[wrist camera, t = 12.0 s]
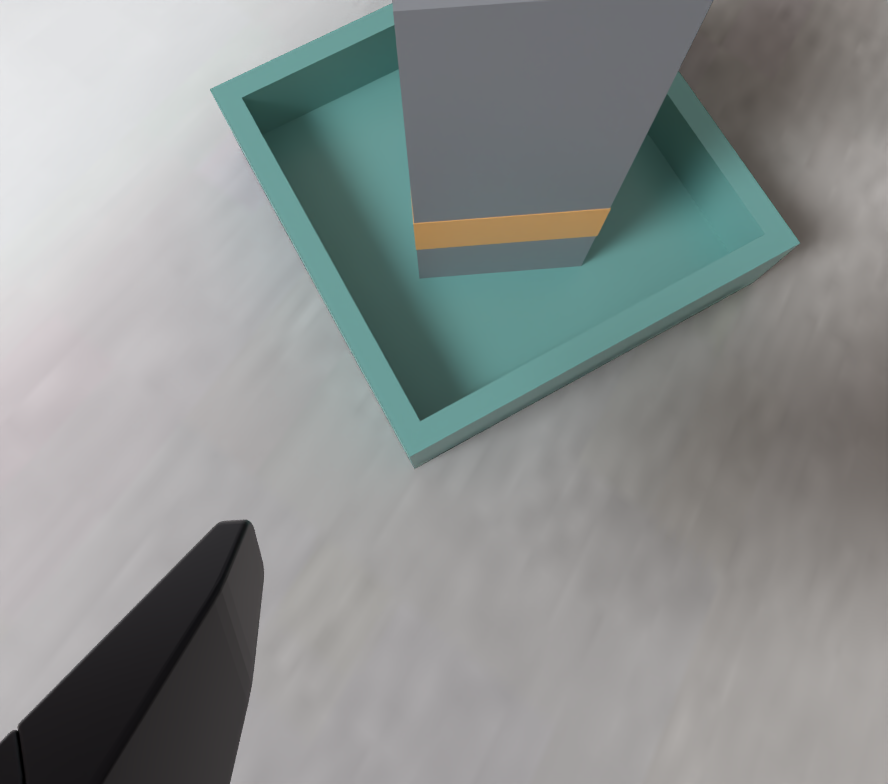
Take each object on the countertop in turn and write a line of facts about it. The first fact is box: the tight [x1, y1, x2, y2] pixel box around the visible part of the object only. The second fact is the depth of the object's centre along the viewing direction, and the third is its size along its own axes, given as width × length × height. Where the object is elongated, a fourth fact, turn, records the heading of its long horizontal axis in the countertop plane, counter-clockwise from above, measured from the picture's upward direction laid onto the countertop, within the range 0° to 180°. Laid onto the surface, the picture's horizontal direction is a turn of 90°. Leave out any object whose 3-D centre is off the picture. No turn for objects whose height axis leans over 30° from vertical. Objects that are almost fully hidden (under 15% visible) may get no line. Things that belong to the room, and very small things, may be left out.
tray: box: [210, 4, 800, 469], centre depth 21 cm, size 12×12×3 cm
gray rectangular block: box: [392, 0, 713, 279], centre depth 16 cm, size 5×5×11 cm
